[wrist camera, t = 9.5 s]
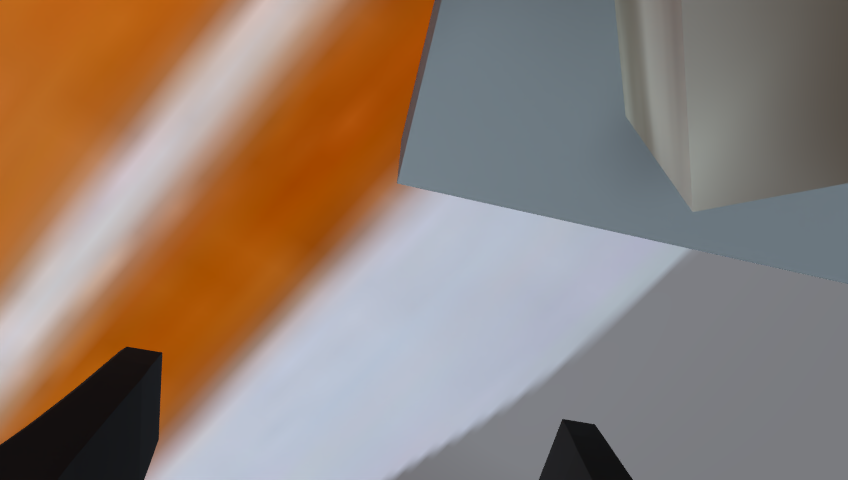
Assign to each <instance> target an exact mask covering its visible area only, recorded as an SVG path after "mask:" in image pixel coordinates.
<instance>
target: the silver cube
mask: <svg viewBox="0 0 848 480" xmlns="http://www.w3.org/2000/svg"><path fill="white" fill-rule="evenodd" d="M615 11H616V21H617V32H618V42H619V53H620V63H621V73H622V84H623V94H624V105H625V115H626V117H627V119H628V120H629V122H630V123H631V125H632V126H633V127H634V129H635V130H636V132H637V133H638V135H639V136H640V137H641V139H642V140H643V142H644V143H645V145H646V146H647V147H648V149H649V150H650V152H651V153H652V155H653V156H654V157H655V159H656V160H657V162H658V163H659V165H660V166H661V167H662V169H663V170H664V172H665V173H666V175H667V176H668V177H669V179H670V180H671V182H672V183H673V185H674V186H675V188H676V189H677V190H678V192H679V193H680V195H681V196H682V198H683V199H684V200H685V202H686V203H687V205H688V206H689V208H690V209H691V210H692V212H696V211H701V210H707V209H712V208H717V207H723V206H728V205H733V204H739V203H744V202H749V201H755V200H760V199H766V198H771V197H776V196H782V195H787V194H792V193H798V192H803V191H808V190H814V189H819V188H824V187H830V186H835V185H841V184H846V183H848V0H615Z"/></svg>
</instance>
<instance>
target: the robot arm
mask: <svg viewBox="0 0 848 480" xmlns="http://www.w3.org/2000/svg"><path fill="white" fill-rule="evenodd" d="M161 371H162V353H161V352H155V351H149V350H143V349H137V348H131V347H126V348H124V349H122V350H121V351H119V352H118V353H117V354H116V355H115V356H114V357H112V358H111V359H110V360H109V361H108V362H106V363H105V364H104V365H103V366H102V367H101V368H99V369H98V370H97V371H96V372H95V373H93V374H92V375H91V376H90V377H89V378H88V379H86V380H85V381H84V382H83V383H81V384H80V385H79V386H78V387H77V388H75V389H74V390H73V391H72V392H70V393H69V394H68V395H67V396H65V397H64V398H63V399H62V400H60V401H59V402H58V403H56V404H55V405H54V406H53V407H51V408H50V409H49V410H47V411H46V412H45V413H44V414H42V415H41V416H40V417H38V418H37V419H36V420H34V421H33V422H32V423H30V424H29V425H28V426H26V427H25V428H24V429H22V430H21V431H19V432H18V433H17V434H15V435H14V436H12V437H11V438H9V439H8V440H7V441H5V442H4V443H2V444H1V445H0V480H144V478H145V476H146V473H147V470H148V468H149V465H150V462H151V459H152V456H153V454H154V451H155V448H156V445H157V442H158V439H159V417H160V394H161ZM539 480H633V479H632V478H631V477H630V475H629V474H628V472H627V471H626V469H625V468H624V466H623V465H622V463H621V462H620V461H619V459H618V457H617V456H616V455H615V453H614V452H613V450H612V449H611V447H610V446H609V444H608V443H607V441H606V440H605V439H604V437H603V435H602V434H601V433H600V431H599V430H598V428H597V427H596V425H595V424H589V423H583V422H577V421H571V420H565V419H562V422H561V425H560V427H559V429H558V432H557V435H556V437H555V440H554V442H553V445H552V448H551V450H550V453H549V455H548V458H547V460H546V463H545V466H544V468H543V471H542V473H541V476H540V479H539Z"/></svg>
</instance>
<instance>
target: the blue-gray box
mask: <svg viewBox="0 0 848 480" xmlns="http://www.w3.org/2000/svg"><path fill="white" fill-rule="evenodd" d="M397 183H398V184H403V185H407V186H412V187H416V188H421V189H425V190H430V191H434V192H439V193H443V194H448V195H452V196H456V197H461V198H465V199H470V200H474V201H479V202H483V203H488V204H492V205H497V206H501V207H506V208H510V209H515V210H519V211H524V212H528V213H533V214H537V215H542V216H546V217H551V218H555V219H560V220H564V221H569V222H573V223H577V224H582V225H586V226H591V227H595V228H600V229H604V230H609V231H613V232H618V233H622V234H627V235H631V236H636V237H640V238H645V239H649V240H654V241H658V242H663V243H667V244H672V245H676V246H681V247H685V248H689V249H694V250H698V251H703V252H707V253H712V254H716V255H721V256H725V257H730V258H735V259H739V260H743V261H748V262H752V263H757V264H761V265H766V266H770V267H775V268H779V269H784V270H789V271H793V272H797V273H802V274H807V275H811V276H815V277H819V278H824V279H829V280H833V281H838V282H842V283H846V284H848V183H846V184H841V185H835V186H830V187H824V188H819V189H814V190H808V191H803V192H798V193H792V194H787V195H782V196H776V197H771V198H766V199H760V200H755V201H749V202H744V203H739V204H733V205H728V206H723V207H717V208H712V209H707V210H701V211H696V212H692V210H691V209H690V208H689V206H688V205H687V203H686V202H685V200H684V199H683V198H682V196H681V195H680V193H679V192H678V190H677V189H676V188H675V186H674V185H673V183H672V182H671V180H670V179H669V177H668V176H667V175H666V173H665V172H664V170H663V169H662V167H661V166H660V165H659V163H658V162H657V160H656V159H655V157H654V156H653V155H652V153H651V152H650V150H649V149H648V147H647V146H646V145H645V143H644V142H643V140H642V139H641V137H640V136H639V135H638V133H637V132H636V130H635V129H634V127H633V126H632V125H631V123H630V122H629V120H628V119H627V117H626V115H625V105H624V94H623V84H622V73H621V63H620V53H619V42H618V32H617V21H616V11H615V0H435V2H434V6H433V10H432V15H431V19H430V23H429V27H428V31H427V36H426V40H425V44H424V48H423V52H422V56H421V61H420V65H419V69H418V73H417V77H416V81H415V86H414V90H413V94H412V98H411V102H410V107H409V111H408V115H407V119H406V123H405V127H404V132H403V136H402V141H401V151H400V161H399V170H398V180H397Z"/></svg>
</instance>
